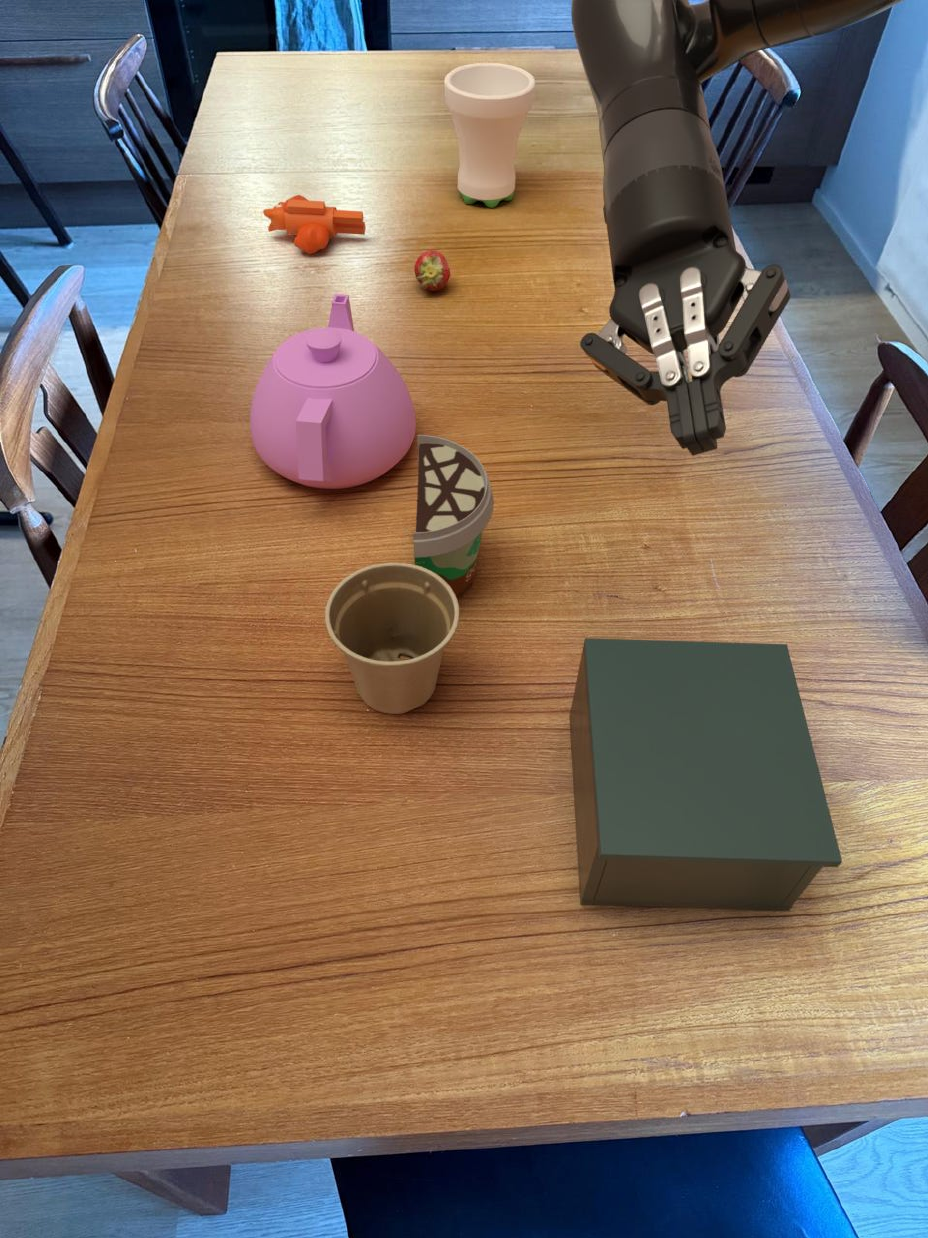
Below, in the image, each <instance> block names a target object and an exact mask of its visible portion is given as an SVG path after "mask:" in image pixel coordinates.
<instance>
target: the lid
mask: <svg viewBox="0 0 928 1238" xmlns="http://www.w3.org/2000/svg"><path fill="white" fill-rule="evenodd" d="M583 646H584V659H585V673H586V686H587V700H588V714H589V727H590V741H591V755H592V768H593V782H594V796H595V809H596V823H597V837H598V850H599V859H600V860H618V861H650V862H682V863H714V864H745V865H777V866H809V867H822V868H838V867H840V865H841V864H842V863H843V860H842V855H841V851H840V848H839V844H838V840H837V836H836V832H835V827H834V824H833V821H832V817H831V812H830V808H829V805H828V800H827V797H826V794H825V793H826V792H825V788H824V785H823V782H822V778H821V773H820V768H819V765H818V762H817V758H816V757H817V756H816V754H815V750H814V745H813V741H812V738H811V734H810V731H809V730H810V729H809V727H808V722H807V719H806V718H807V717H806V714H805V711H804V707H803V702H802V699H801V694H800V691H799V687H798V682H797V679H796V675H795V671H794V667H793V664H792V659H791V655H790V651H789V648H788V644H787V643H762V642H761V643H759V642H758V643H757V642H755V643H754V642H729V641H728V642H726V641H725V642H724V641H694V640H693V641H690V640H663V639H662V640H660V639H659V640H658V639H629V638H628V639H626V638H624V639H623V638H598V637H597V638H595V637H594V638H593V637H592V638H591V637H586V638H584V639H583Z"/></svg>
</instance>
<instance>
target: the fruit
mask: <svg viewBox="0 0 928 1238" xmlns="http://www.w3.org/2000/svg"><path fill="white" fill-rule="evenodd" d="M413 270H414V276H415V280H417V281H418V283H419V284H420V287H419V288H420V290H422V291H425V290H427V291H431V292H437V291H440V290H443V289H444V288H445V287H446V285H447V284H448V283H449V280H450V278H451V269H450V267H449V264H448V260H447V258H446V257H445V256H444V255H443V253H441V252H439V251H437V250H433V249H429V250H427V251H425V252H423V253H422V254H421V255H419V256H418V258H417V259H416V261H415V263H414V269H413Z"/></svg>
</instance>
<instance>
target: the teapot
mask: <svg viewBox="0 0 928 1238" xmlns="http://www.w3.org/2000/svg"><path fill="white" fill-rule="evenodd" d="M332 298H333V299H332V300H331V308H330V314H329V321H328V324H327V327H316V328H311V329H306V330H303V331H300V332H298V333H295V334H293V335H291V336H289V337H288V338H286V339H285V340H284V341H283V342H282V343H280V344H279V346H278V347H277V348H276V349H275V351H274V352H273V354H272V355H271V357H270V358H269V360H268V362H267V364H266V366H265V367H264V369H263V371H262V373H261V375H260V377H259V379H258V382H257V384H256V387H255V389H254V392H253V396H252V401H251V407H250V413H249V414H250V422H249V423H250V425H249V426H250V430H249V431H250V436H251V442H252V445H253V447H254V449H255V452H256V453H257V455H258V456H259V457H260V459H261V460H262V461H263V463H265V465H267V467H268V468H270V469H271V470H272V471H274V472H275V473H277V474H279V475H280V476H282V477H284V478H286V479H288V480H290V481H292V482H294V483H297V484H300V485H302V486H306V487H309V488H314V489H323V490H324V489H325V490H339V489H347V488H348V489H349V488H354V487H358V486H361V485H364V484H367V483H370V482H372V481H374V480H376V479H378V478H379V477H381V476H383V475H384V474H385V473H387V472H388V471H390V470H391V469H392V468H394V466H395V465H397V464H398V463H399V462H400V461H401V460H402V459H403V458H404V457H405V456H406V454H407V453H408V452H409V449H411V445H412V444H413V442H414V439H415V435H416V430H417V428H416V427H417V420H416V412H415V407H414V404H413V400H412V396H411V394H410V391H409V389H408V387H407V385H406V382H405V380H404V379H403V376H402V375H401V374H400V372H399V370H398V369H397V368H396V367H395V365H394V363H392V361H391V360H390V359H389V357H387V356H386V355H385V353H384V352H383V351H382V350H381V349H380V348H379V347H378V346H377V345H376V344H375V343H374V342H373V341H372V340H371V339H369V338H368V337H367V336H365V335H363V334H361V333H359V332H357V331H355V328H354V327H355V326H354V321H353V315H352V308H351V301H350V295H349V294H344V293H343V294H342V293H341V294H340V293H334V296H333V297H332Z"/></svg>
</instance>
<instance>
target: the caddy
mask: <svg viewBox="0 0 928 1238" xmlns="http://www.w3.org/2000/svg"><path fill="white" fill-rule="evenodd" d="M576 677H577V678H576V681H575V687H574V692H573V696H572V702H571V707H570V712H569V733H570V750H571V765H572V767H571V768H572V785H573V801H574V802H573V803H574V818H575V835H576V836H575V838H576V852H577V853H576V855H577V871H578V872H577V875H578V891H579V904H580V905H581V906H609V907H610V906H611V907H612V906H613V907H640V908H641V907H642V908H643V907H644V908H673V909H676V908H677V909H703V910H706V909H708V910H709V909H710V910H738V911H739V910H741V911H768V912H770V911H771V912H790V910H791V909H793V906H794V905H795V904H796V902H797V901H798V900H799V898H800V897H801V896H802V894H803V893H804V892H805V891H806V889H807V888H808V887H809V886H810V884H811V883H812V882H813V881H814V879H815V878H816V876H817V875H818V874H819V872H821V870H822V869H823V867H809V866H777V865H745V864H714V863H682V862H650V861H618V860H600V859H599V850H598V837H597V823H596V809H595V796H594V782H593V768H592V755H591V741H590V727H589V714H588V700H587V686H586V673H585V659H584V645H583V646H582V650H581V656H580V659H579V666H578V671H577V675H576Z"/></svg>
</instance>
